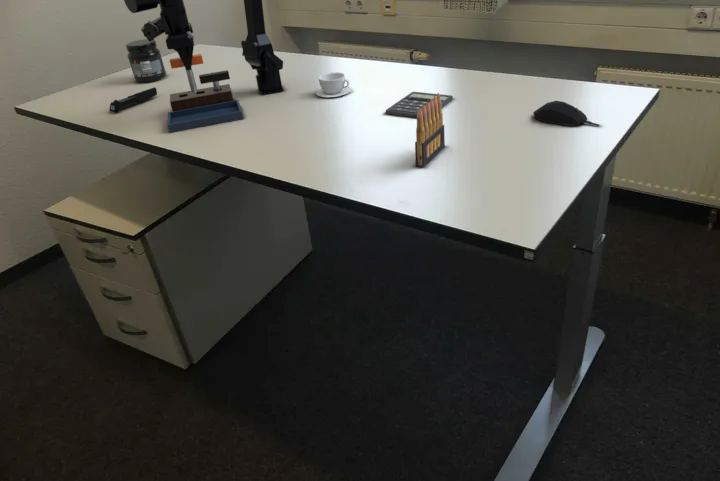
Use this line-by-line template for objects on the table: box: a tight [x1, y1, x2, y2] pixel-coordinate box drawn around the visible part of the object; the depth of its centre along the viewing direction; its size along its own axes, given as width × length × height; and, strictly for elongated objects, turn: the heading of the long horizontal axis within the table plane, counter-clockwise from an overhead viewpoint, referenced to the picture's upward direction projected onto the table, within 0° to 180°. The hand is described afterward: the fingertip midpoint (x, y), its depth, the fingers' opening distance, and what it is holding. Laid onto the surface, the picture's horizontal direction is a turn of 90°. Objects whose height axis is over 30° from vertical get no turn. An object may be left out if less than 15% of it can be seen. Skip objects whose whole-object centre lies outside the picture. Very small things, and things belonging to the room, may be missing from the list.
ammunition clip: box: [414, 92, 446, 168], centre depth 111 cm, size 11×2×12 cm, turn 149°
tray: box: [167, 99, 244, 133], centre depth 146 cm, size 19×11×2 cm, turn 106°
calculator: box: [385, 91, 454, 118], centre depth 139 cm, size 12×1×15 cm
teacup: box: [315, 72, 352, 98], centre depth 154 cm, size 10×10×5 cm
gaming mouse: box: [532, 100, 600, 127], centre depth 122 cm, size 6×15×4 cm, turn 49°
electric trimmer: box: [108, 86, 158, 114], centre depth 163 cm, size 4×16×3 cm, turn 142°
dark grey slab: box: [198, 69, 231, 91], centre depth 153 cm, size 8×2×9 cm, turn 106°
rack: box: [169, 83, 234, 112], centre depth 153 cm, size 17×7×4 cm, turn 106°
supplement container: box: [125, 38, 167, 84], centre depth 183 cm, size 10×10×12 cm
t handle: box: [169, 53, 204, 93], centre depth 142 cm, size 8×2×9 cm, turn 105°
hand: (188, 69), depth 141 cm, fingers closed on t handle, 2 cm apart
